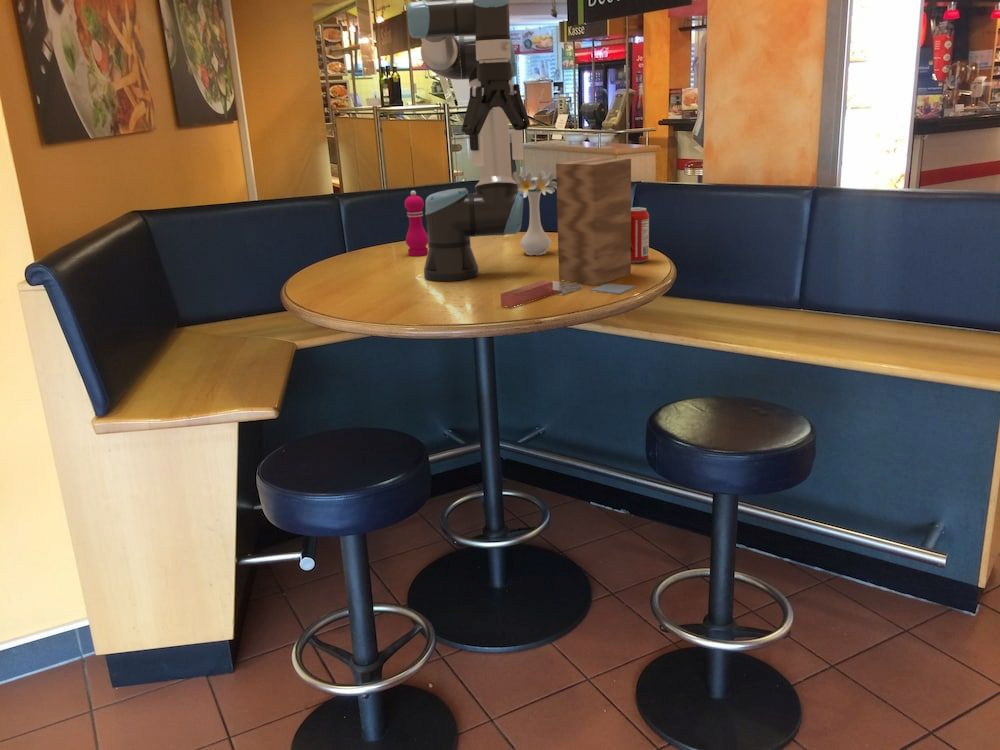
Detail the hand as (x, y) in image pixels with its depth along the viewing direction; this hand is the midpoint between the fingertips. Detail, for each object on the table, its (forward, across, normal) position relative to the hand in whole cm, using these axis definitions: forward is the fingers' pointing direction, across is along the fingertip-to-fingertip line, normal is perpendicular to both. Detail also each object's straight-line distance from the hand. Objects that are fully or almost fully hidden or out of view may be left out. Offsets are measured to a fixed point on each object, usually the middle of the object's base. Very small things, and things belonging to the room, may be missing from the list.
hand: (498, 162), depth 186 cm
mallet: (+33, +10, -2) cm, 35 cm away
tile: (+34, +25, -14) cm, 44 cm away
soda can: (+34, +57, 0) cm, 66 cm away
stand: (+33, +35, -2) cm, 48 cm away
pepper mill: (+34, +35, +67) cm, 83 cm away
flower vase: (+34, +54, +33) cm, 71 cm away
